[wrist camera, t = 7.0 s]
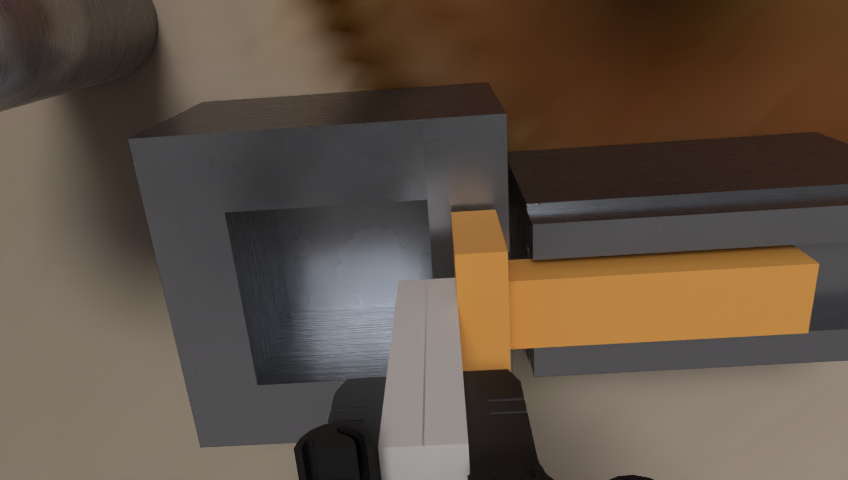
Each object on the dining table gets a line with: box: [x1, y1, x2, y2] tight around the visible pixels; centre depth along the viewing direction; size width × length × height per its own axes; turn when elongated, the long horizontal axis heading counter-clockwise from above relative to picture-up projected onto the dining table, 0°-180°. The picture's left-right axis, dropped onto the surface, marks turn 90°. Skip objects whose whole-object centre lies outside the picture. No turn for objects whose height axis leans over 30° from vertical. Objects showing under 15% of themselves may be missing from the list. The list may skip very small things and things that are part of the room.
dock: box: [128, 83, 848, 447], centre depth 21 cm, size 22×10×7 cm, turn 94°
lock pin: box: [451, 209, 819, 372], centre depth 17 cm, size 9×5×3 cm, turn 94°
